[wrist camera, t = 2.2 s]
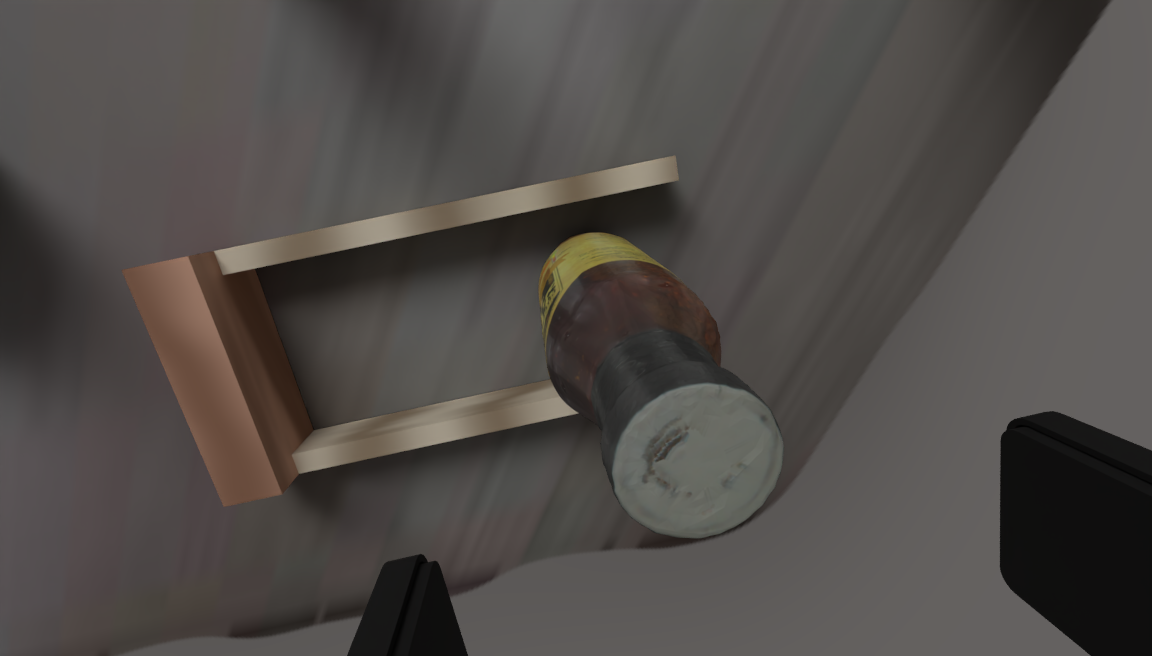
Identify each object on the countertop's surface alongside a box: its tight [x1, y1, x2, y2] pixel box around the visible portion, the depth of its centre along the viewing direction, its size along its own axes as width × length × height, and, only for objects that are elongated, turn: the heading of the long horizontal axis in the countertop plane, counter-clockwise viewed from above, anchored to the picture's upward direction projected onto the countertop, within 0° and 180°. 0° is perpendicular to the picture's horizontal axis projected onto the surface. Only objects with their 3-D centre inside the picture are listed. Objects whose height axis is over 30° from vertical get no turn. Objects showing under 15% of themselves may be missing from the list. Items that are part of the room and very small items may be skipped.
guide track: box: [122, 156, 679, 507], centre depth 28 cm, size 26×12×5 cm, turn 101°
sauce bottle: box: [539, 232, 784, 538], centre depth 21 cm, size 7×6×20 cm
